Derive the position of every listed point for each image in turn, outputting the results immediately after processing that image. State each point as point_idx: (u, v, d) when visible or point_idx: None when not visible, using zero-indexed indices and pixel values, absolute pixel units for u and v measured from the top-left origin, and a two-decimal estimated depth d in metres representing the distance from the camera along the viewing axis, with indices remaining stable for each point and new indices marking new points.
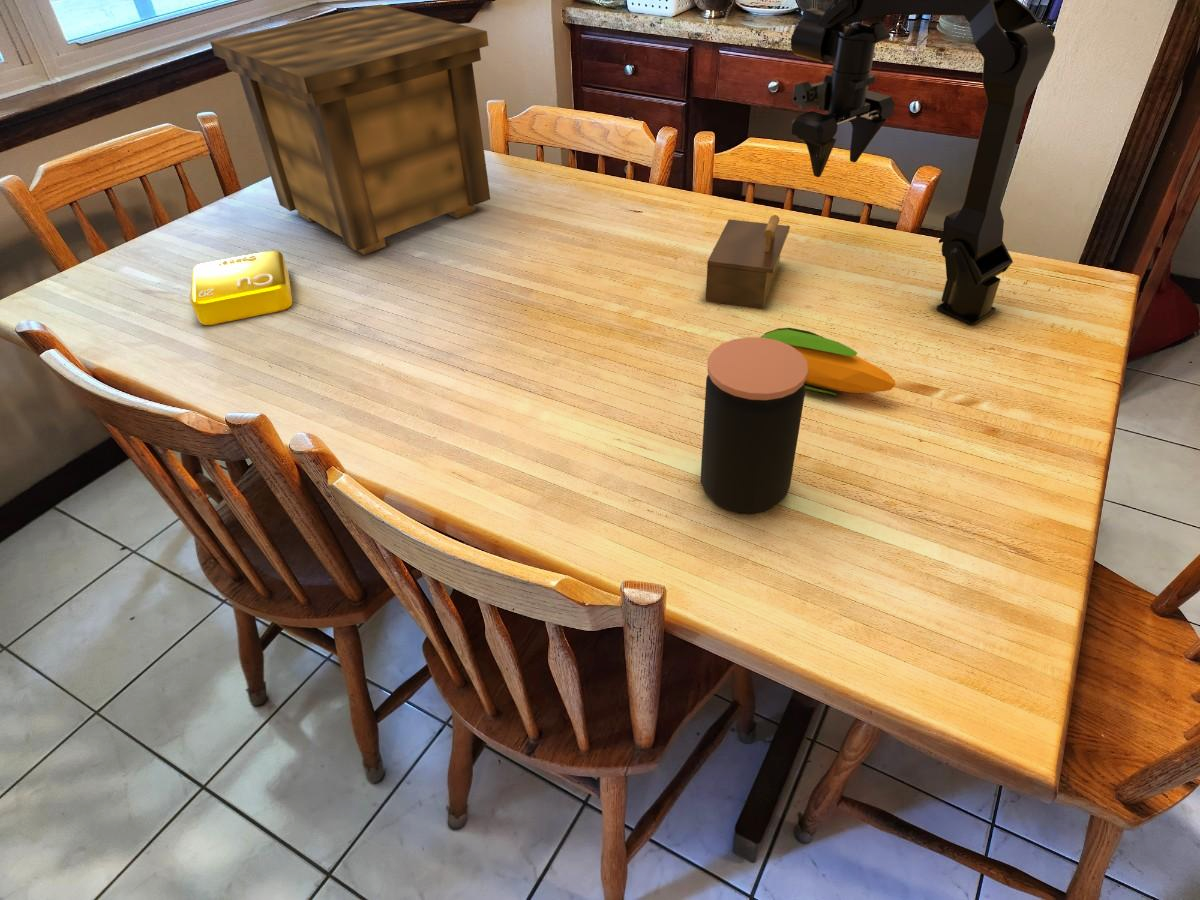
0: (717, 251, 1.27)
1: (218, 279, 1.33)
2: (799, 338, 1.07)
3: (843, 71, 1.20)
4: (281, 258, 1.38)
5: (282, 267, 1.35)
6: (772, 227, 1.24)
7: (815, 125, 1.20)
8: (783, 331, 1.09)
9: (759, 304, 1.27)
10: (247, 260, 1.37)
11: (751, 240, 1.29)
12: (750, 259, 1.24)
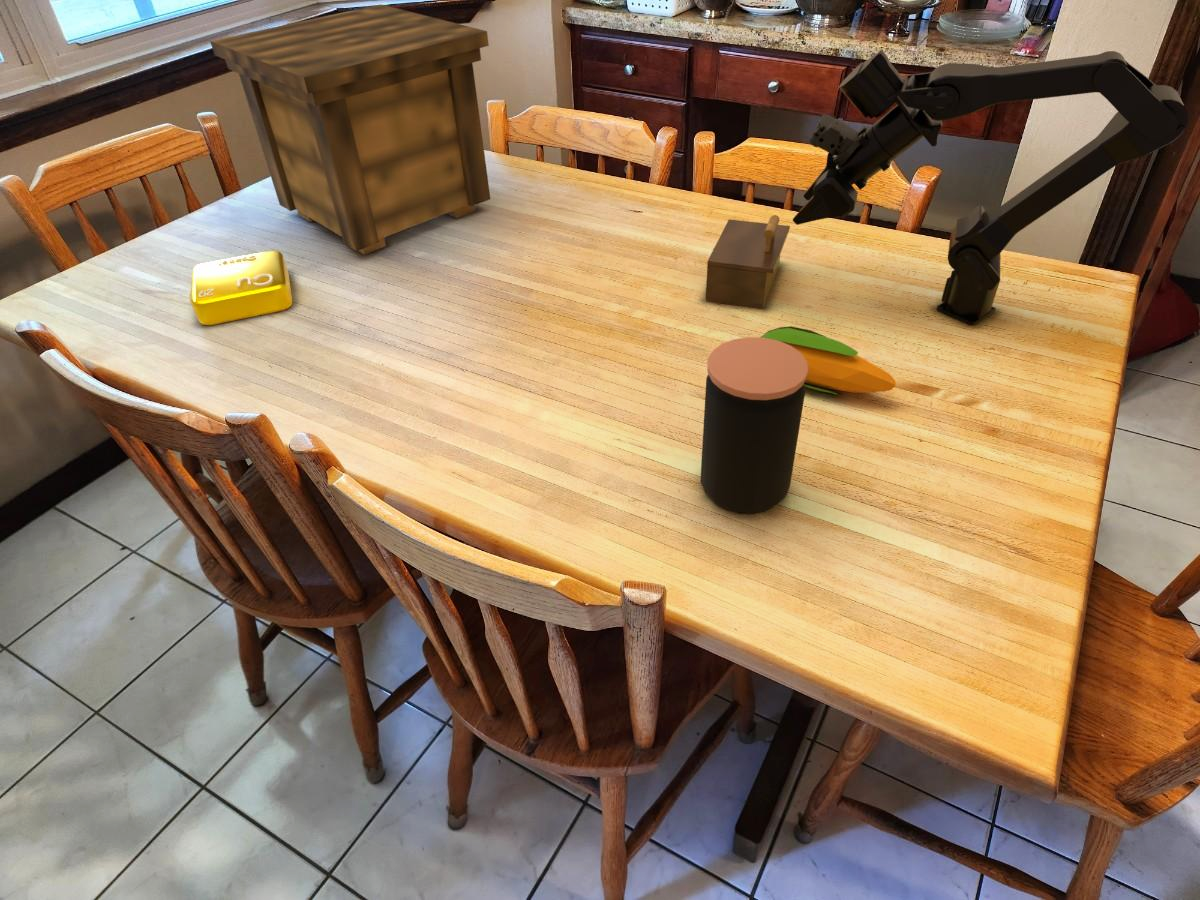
0: (717, 251, 1.27)
1: (218, 279, 1.33)
2: (800, 337, 1.07)
3: (887, 150, 1.11)
4: (281, 258, 1.38)
5: (282, 267, 1.35)
6: (772, 227, 1.24)
7: (850, 202, 1.11)
8: (785, 330, 1.09)
9: (759, 304, 1.27)
10: (247, 260, 1.37)
11: (751, 240, 1.29)
12: (750, 259, 1.24)
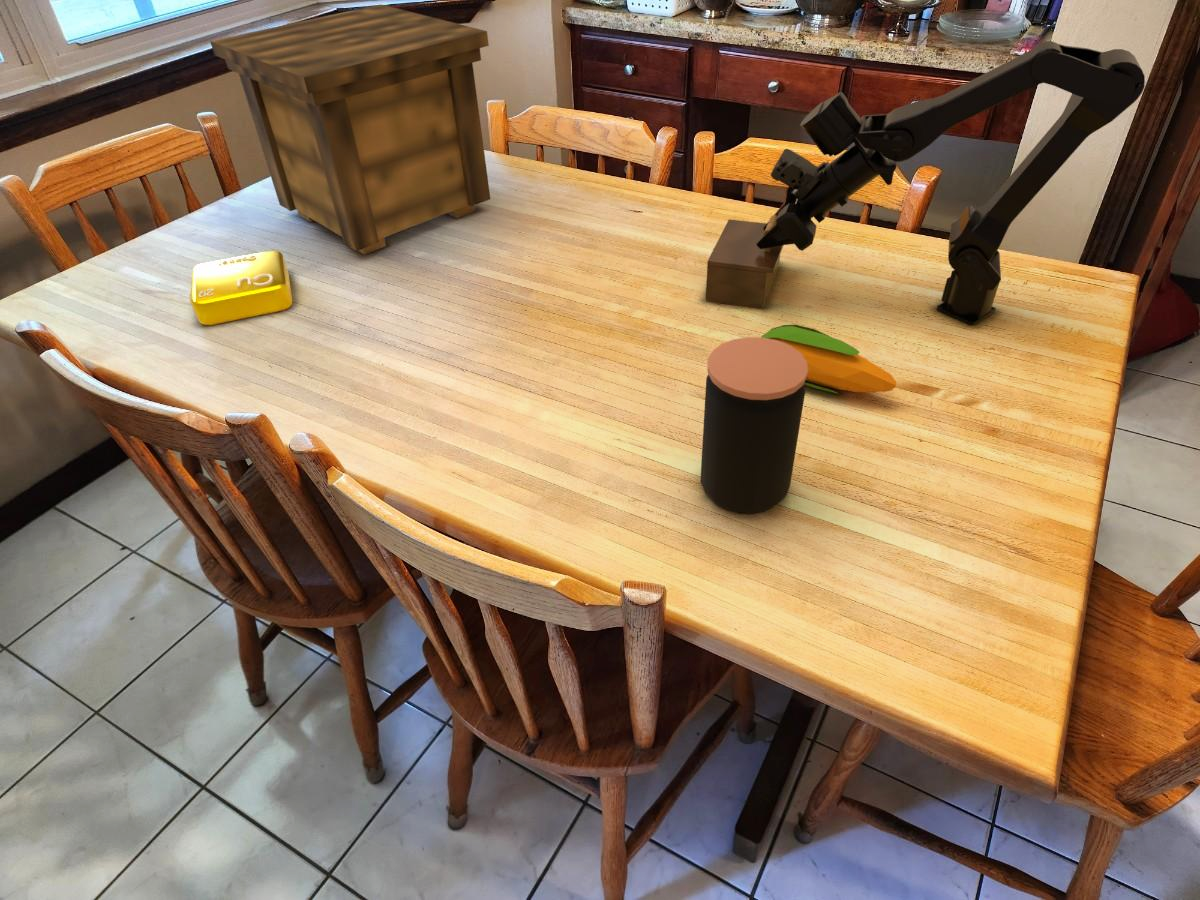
0: (717, 251, 1.27)
1: (218, 279, 1.33)
2: (802, 335, 1.07)
3: (845, 186, 1.15)
4: (281, 258, 1.38)
5: (282, 267, 1.35)
6: None
7: (809, 236, 1.15)
8: (788, 328, 1.10)
9: (759, 304, 1.27)
10: (247, 260, 1.37)
11: (751, 240, 1.29)
12: (750, 259, 1.24)
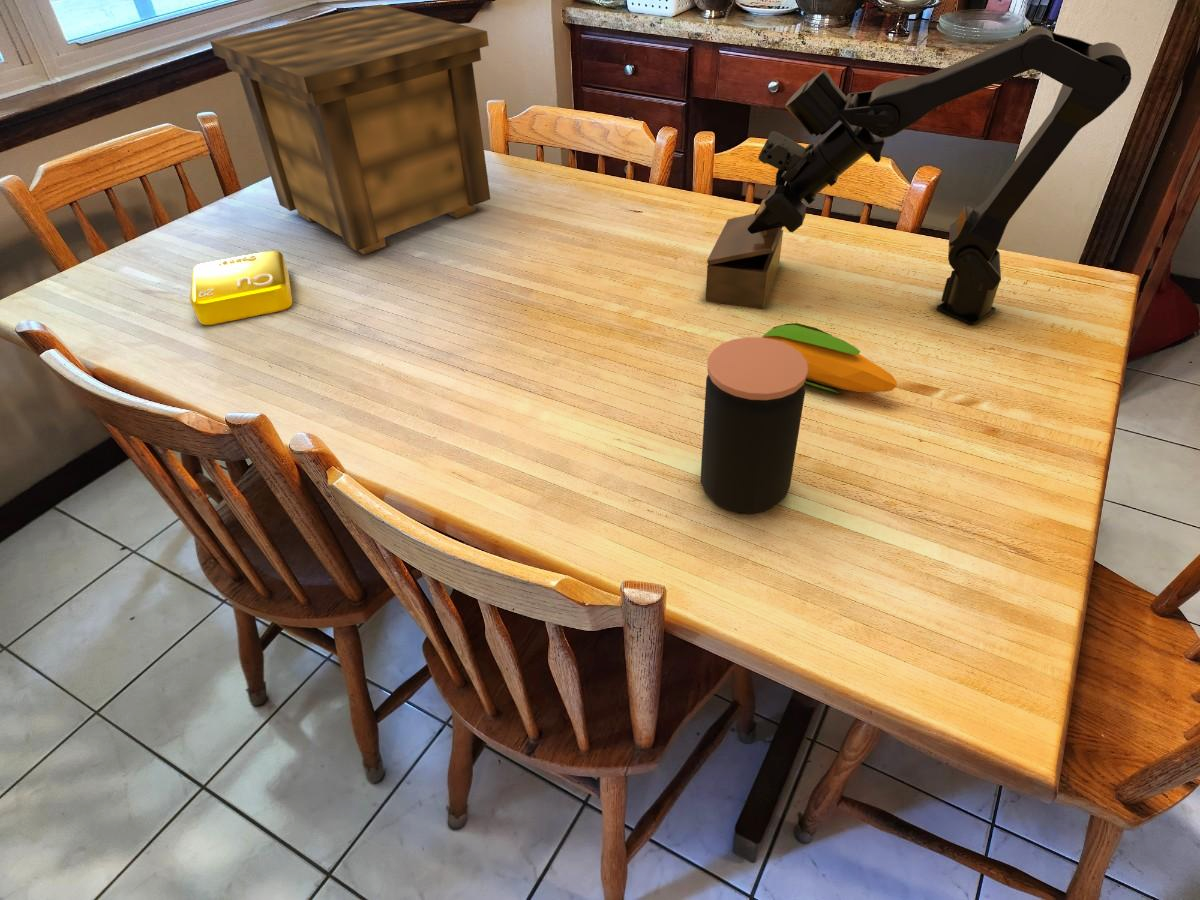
0: (716, 249, 1.27)
1: (218, 279, 1.33)
2: (804, 334, 1.08)
3: (833, 166, 1.14)
4: (281, 258, 1.38)
5: (282, 267, 1.35)
6: None
7: (798, 217, 1.14)
8: (790, 326, 1.10)
9: (759, 304, 1.27)
10: (247, 260, 1.37)
11: None
12: (748, 247, 1.23)
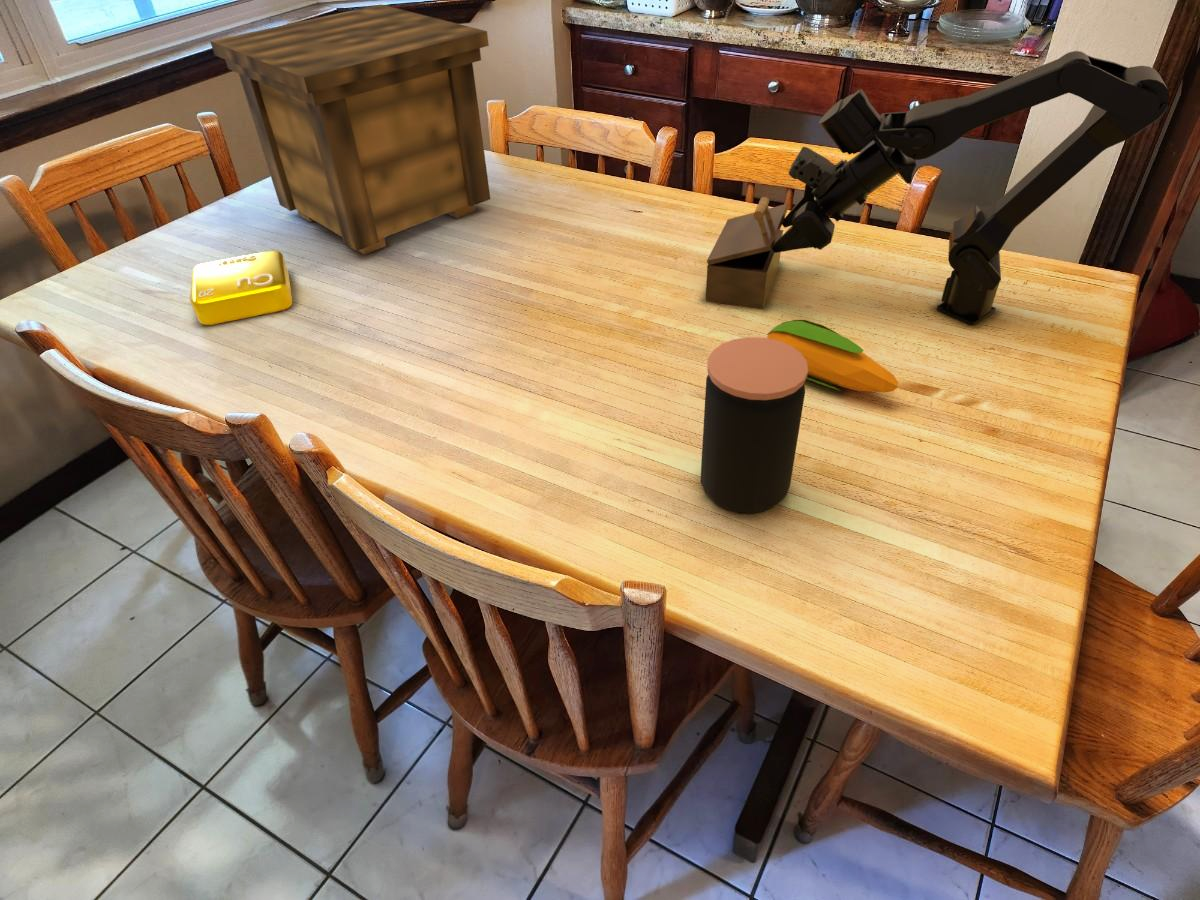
0: (716, 249, 1.27)
1: (218, 279, 1.33)
2: (809, 330, 1.08)
3: (864, 185, 1.14)
4: (281, 258, 1.38)
5: (282, 267, 1.35)
6: (760, 208, 1.23)
7: (827, 235, 1.14)
8: (797, 322, 1.11)
9: (759, 304, 1.27)
10: (247, 260, 1.37)
11: (749, 229, 1.28)
12: (747, 245, 1.23)
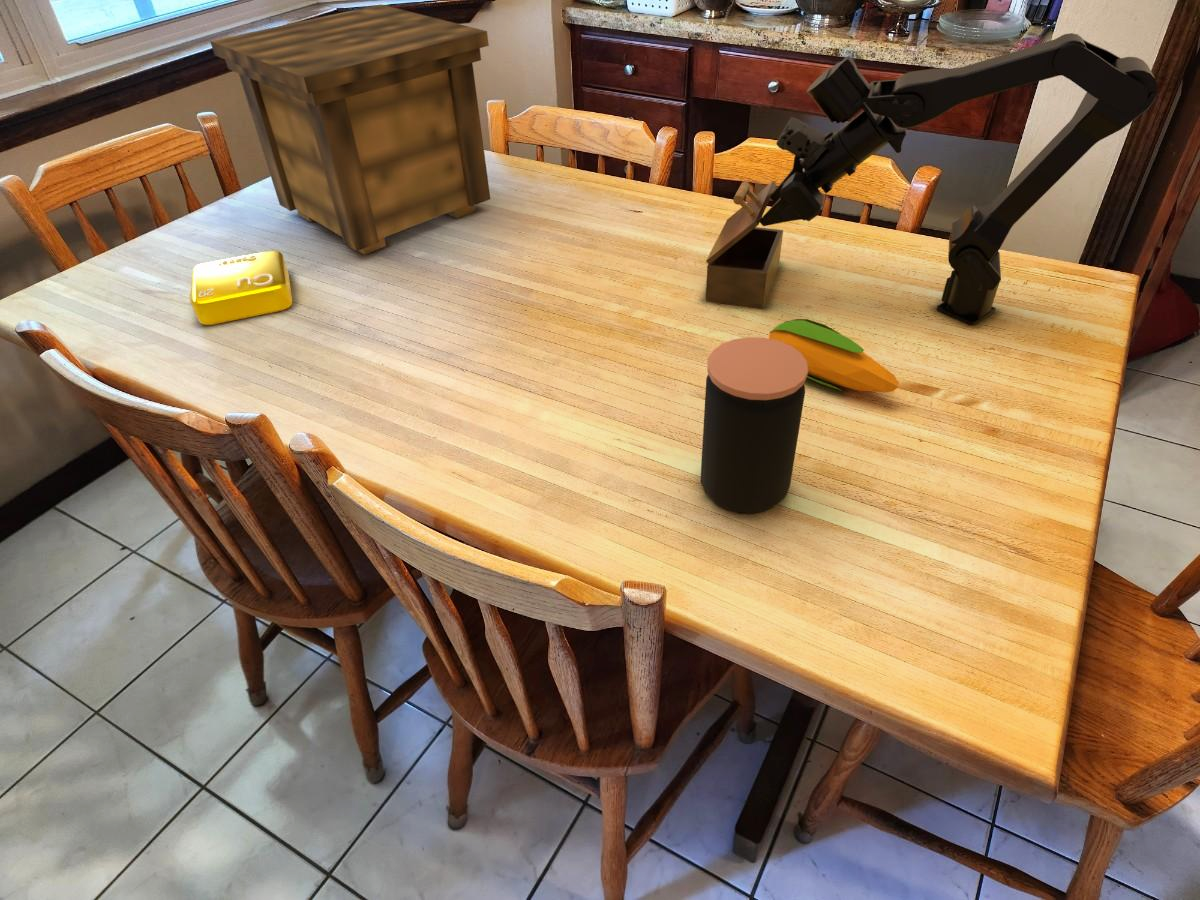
0: (714, 248, 1.27)
1: (218, 279, 1.33)
2: (810, 329, 1.08)
3: (853, 155, 1.12)
4: (281, 258, 1.38)
5: (282, 267, 1.35)
6: (738, 192, 1.22)
7: (816, 205, 1.12)
8: (798, 321, 1.11)
9: (759, 304, 1.27)
10: (247, 260, 1.37)
11: (741, 218, 1.27)
12: (738, 230, 1.22)
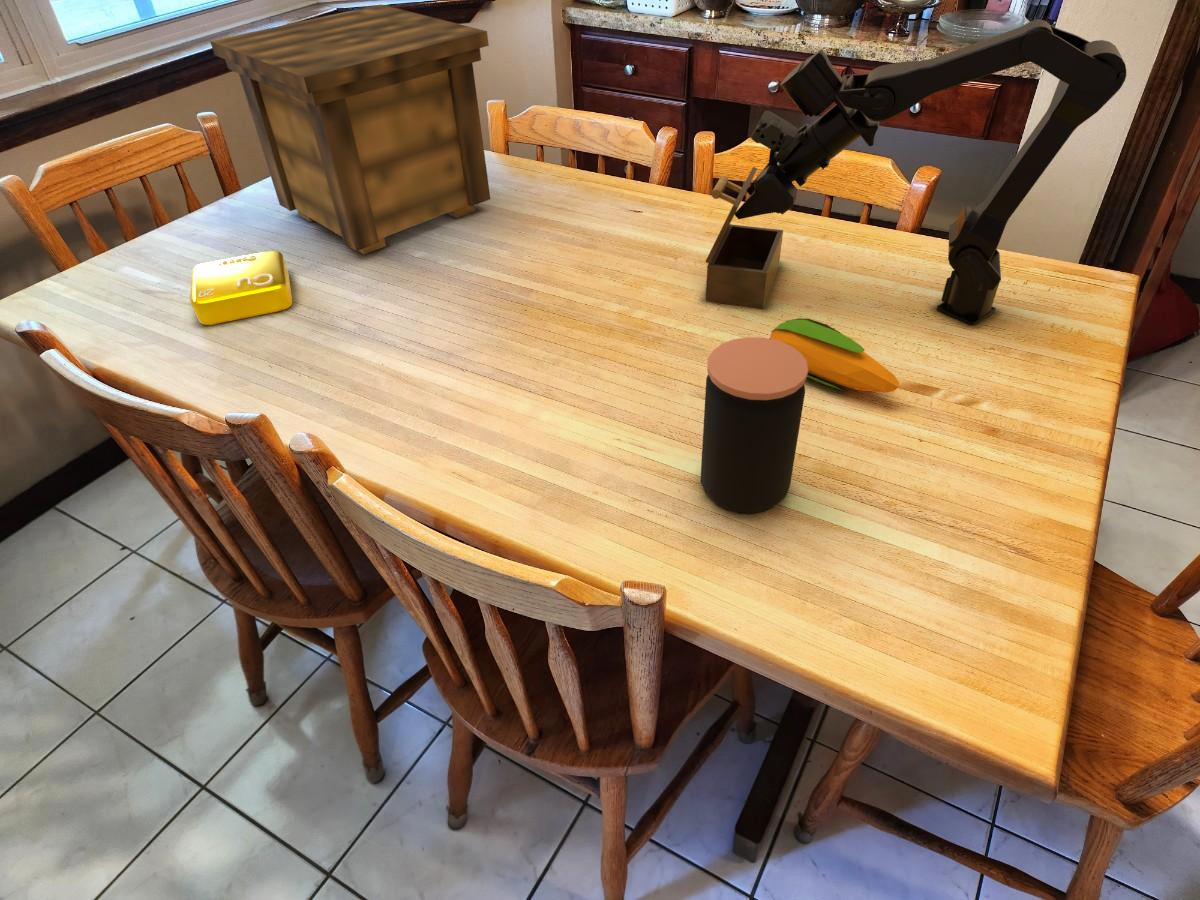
0: None
1: (218, 279, 1.33)
2: (811, 329, 1.09)
3: (826, 148, 1.13)
4: (281, 258, 1.38)
5: (282, 267, 1.35)
6: (714, 187, 1.23)
7: (789, 198, 1.13)
8: (800, 321, 1.11)
9: (759, 304, 1.27)
10: (247, 260, 1.37)
11: None
12: None
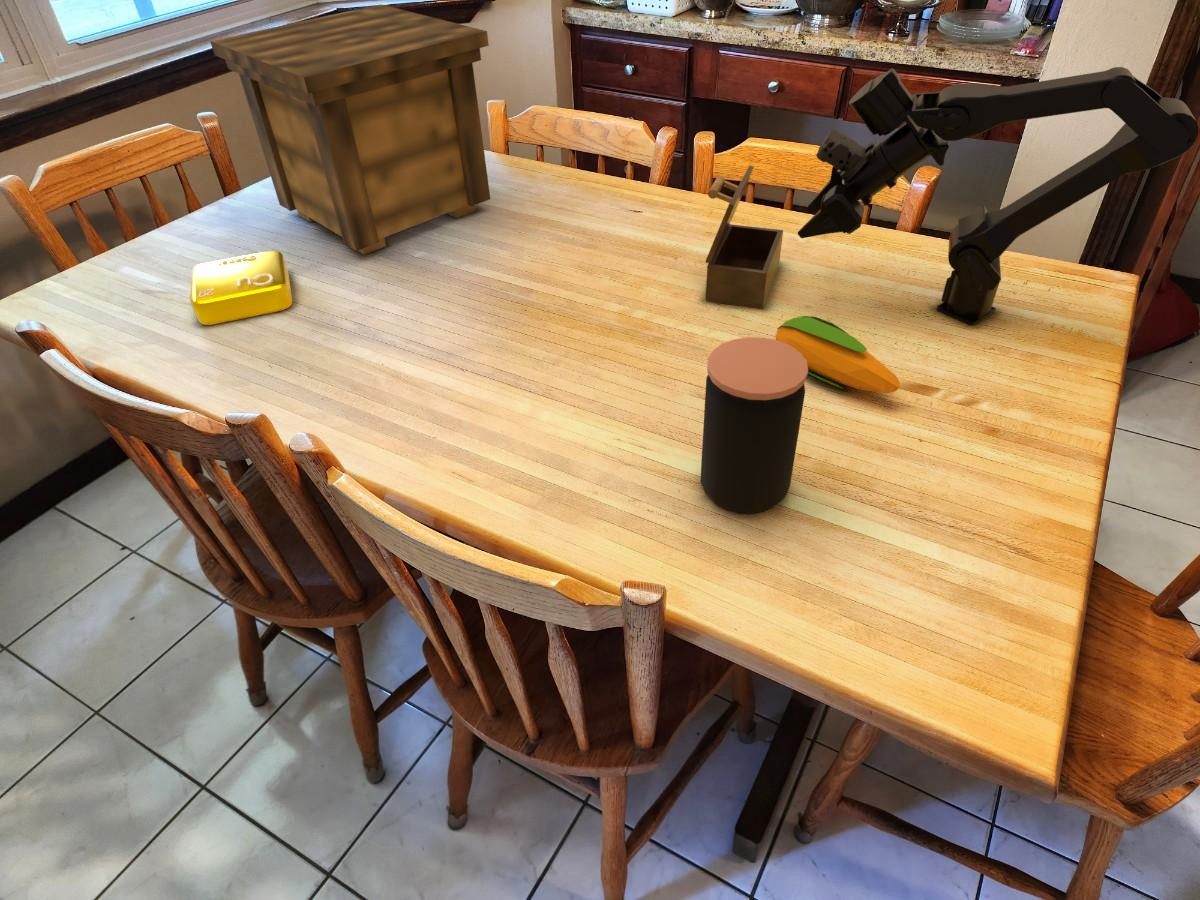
0: None
1: (218, 279, 1.33)
2: (816, 327, 1.09)
3: (894, 167, 1.12)
4: (281, 258, 1.38)
5: (282, 267, 1.35)
6: (711, 187, 1.23)
7: (857, 218, 1.11)
8: (805, 318, 1.11)
9: (759, 304, 1.27)
10: (247, 260, 1.37)
11: None
12: None
